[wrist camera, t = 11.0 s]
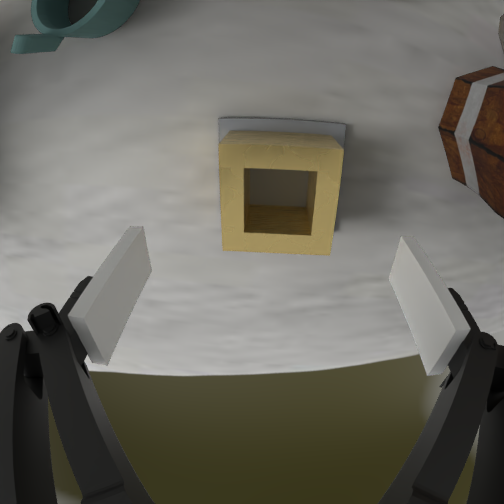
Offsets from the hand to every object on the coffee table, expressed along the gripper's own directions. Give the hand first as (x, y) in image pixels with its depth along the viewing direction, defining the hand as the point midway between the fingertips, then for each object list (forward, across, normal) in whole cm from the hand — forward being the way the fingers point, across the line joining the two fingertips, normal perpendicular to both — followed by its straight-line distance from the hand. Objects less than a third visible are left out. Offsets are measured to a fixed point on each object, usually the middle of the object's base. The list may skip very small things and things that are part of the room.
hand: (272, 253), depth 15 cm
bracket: (+13, -15, +18) cm, 27 cm away
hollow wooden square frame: (+12, +1, 0) cm, 12 cm away
